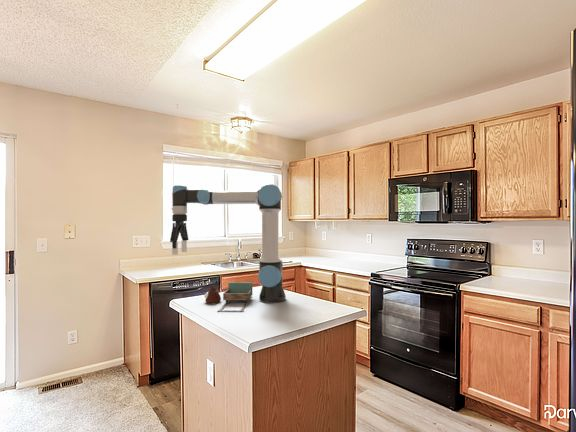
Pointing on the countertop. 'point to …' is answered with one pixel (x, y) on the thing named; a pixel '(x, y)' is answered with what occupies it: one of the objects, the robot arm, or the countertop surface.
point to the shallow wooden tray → (238, 291)
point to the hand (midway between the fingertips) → (179, 253)
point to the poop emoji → (212, 296)
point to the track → (230, 310)
